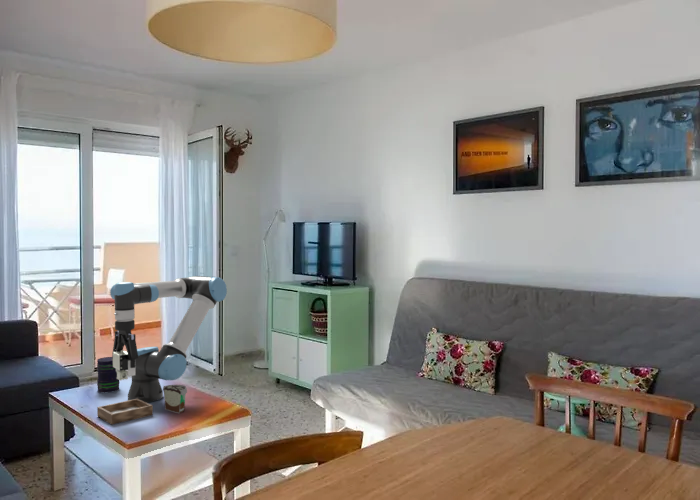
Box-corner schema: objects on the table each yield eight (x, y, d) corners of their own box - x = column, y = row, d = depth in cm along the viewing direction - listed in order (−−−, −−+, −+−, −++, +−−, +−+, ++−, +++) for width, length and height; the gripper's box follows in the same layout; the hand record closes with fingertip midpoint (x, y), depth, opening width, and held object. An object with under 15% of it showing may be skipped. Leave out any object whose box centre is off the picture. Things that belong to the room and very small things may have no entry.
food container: (193, 410, 242) (193, 387, 241) (181, 414, 237) (181, 390, 236) (174, 405, 249) (174, 382, 248) (162, 409, 244) (162, 385, 243)
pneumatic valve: (121, 383, 228) (121, 353, 227) (111, 377, 236) (111, 348, 236) (135, 380, 231) (135, 351, 231) (124, 374, 240) (124, 346, 240)
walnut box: (137, 407, 245) (137, 398, 245) (152, 414, 236) (152, 405, 235) (97, 416, 233) (97, 407, 233) (111, 424, 223) (111, 414, 223)
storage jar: (115, 386, 280) (115, 355, 280) (122, 390, 273) (122, 359, 272) (94, 389, 274) (94, 358, 273) (100, 393, 266) (100, 362, 266)
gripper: (103, 318, 238) (104, 370, 239) (128, 324, 222) (129, 380, 223) (121, 316, 244) (121, 366, 245) (146, 322, 228) (147, 376, 229)
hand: (125, 373), depth 234 cm, fingers closed on pneumatic valve, 11 cm apart
